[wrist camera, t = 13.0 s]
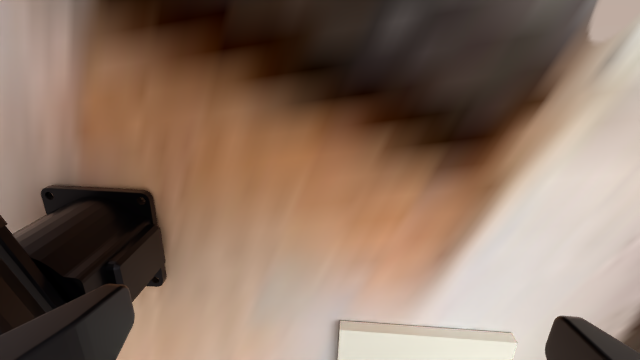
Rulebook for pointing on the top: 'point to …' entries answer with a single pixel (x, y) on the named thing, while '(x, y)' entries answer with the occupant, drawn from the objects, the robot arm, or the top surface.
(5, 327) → the robot arm
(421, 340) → the cream board
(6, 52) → the top surface
